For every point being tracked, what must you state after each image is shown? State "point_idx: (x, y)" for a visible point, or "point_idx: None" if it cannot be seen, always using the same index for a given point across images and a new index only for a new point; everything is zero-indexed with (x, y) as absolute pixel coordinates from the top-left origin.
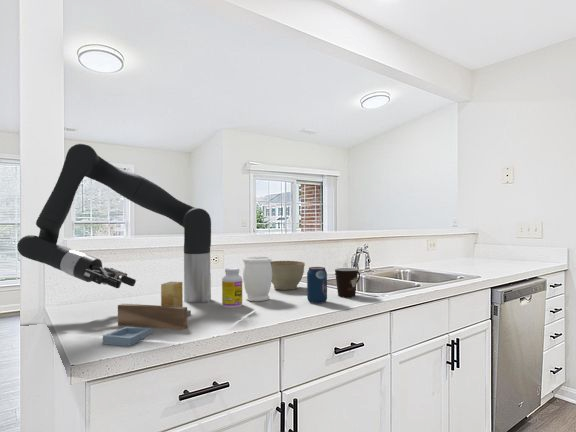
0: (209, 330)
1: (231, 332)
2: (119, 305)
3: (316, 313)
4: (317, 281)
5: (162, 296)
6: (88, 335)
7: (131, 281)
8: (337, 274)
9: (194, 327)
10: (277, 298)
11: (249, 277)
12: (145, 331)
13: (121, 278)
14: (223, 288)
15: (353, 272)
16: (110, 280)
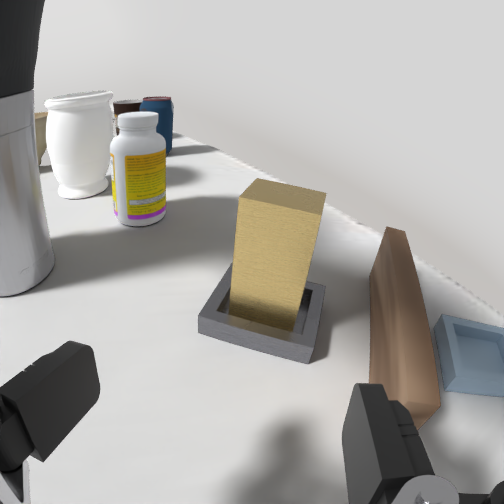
0: (360, 247)
1: (362, 226)
2: (439, 398)
3: (233, 161)
4: (172, 118)
5: (310, 262)
6: (488, 483)
7: (77, 378)
8: (132, 109)
9: (346, 267)
10: None
11: (97, 139)
12: (463, 319)
13: (5, 452)
14: (146, 173)
15: None
16: (423, 457)
